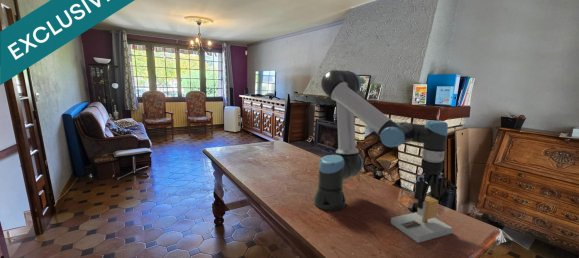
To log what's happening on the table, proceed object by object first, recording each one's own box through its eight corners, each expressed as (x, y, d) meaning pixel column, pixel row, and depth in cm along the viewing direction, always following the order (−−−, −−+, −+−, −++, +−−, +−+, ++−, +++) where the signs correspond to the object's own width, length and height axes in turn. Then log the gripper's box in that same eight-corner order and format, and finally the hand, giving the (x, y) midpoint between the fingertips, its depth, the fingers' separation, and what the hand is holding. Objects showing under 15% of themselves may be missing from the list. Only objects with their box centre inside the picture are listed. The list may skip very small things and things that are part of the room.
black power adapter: (433, 220, 110) (435, 210, 109) (418, 221, 109) (419, 211, 108) (416, 206, 122) (417, 197, 121) (402, 207, 121) (403, 198, 120)
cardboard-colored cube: (427, 219, 99) (429, 202, 97) (417, 213, 103) (418, 197, 102) (436, 217, 100) (438, 200, 99) (425, 211, 105) (427, 195, 104)
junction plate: (417, 243, 93) (419, 222, 91) (390, 223, 106) (391, 204, 104) (451, 233, 99) (454, 213, 98) (422, 215, 112) (424, 198, 111)
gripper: (423, 165, 91) (417, 223, 95) (457, 160, 98) (450, 214, 102) (407, 159, 98) (401, 213, 102) (440, 155, 105) (433, 206, 109)
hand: (425, 214), depth 102 cm, fingers closed on cardboard-colored cube, 5 cm apart
